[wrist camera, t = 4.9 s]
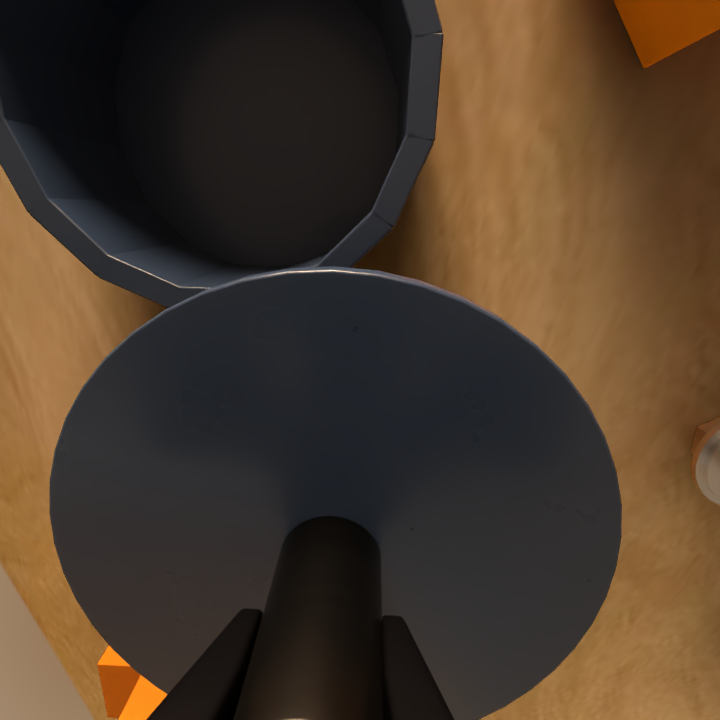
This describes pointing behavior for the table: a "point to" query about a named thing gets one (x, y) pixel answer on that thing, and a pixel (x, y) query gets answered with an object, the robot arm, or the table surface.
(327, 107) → the pot
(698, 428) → the screw
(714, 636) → the table surface
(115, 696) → the duck
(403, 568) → the lid
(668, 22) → the orange juice
